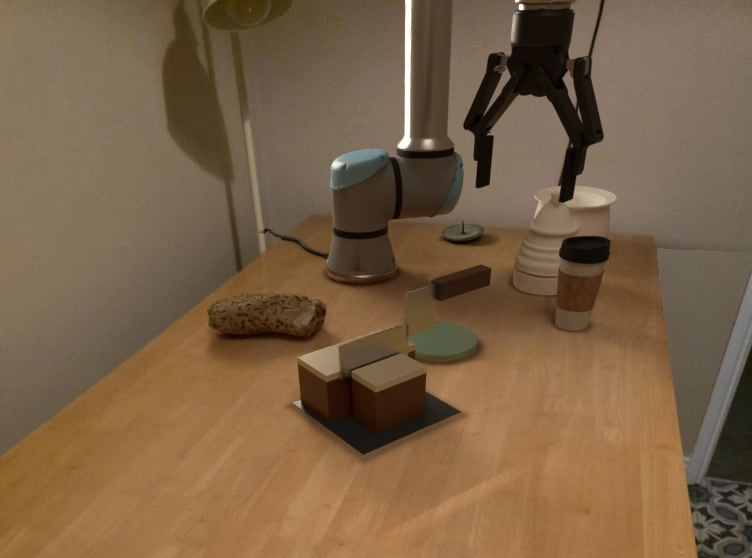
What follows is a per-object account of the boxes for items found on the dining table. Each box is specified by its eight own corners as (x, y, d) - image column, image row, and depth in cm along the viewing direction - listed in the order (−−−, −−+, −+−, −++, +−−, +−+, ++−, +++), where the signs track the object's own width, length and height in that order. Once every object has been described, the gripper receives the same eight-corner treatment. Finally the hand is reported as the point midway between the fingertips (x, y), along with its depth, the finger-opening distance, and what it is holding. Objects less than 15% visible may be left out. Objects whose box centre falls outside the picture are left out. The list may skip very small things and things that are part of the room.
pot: (538, 235, 164) (545, 181, 156) (611, 242, 159) (622, 187, 151) (518, 263, 148) (525, 204, 141) (597, 272, 143) (609, 212, 135)
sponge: (328, 328, 126) (233, 295, 128) (331, 292, 120) (231, 259, 122) (300, 369, 118) (199, 334, 121) (301, 333, 112) (195, 297, 114)
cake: (329, 423, 96) (326, 376, 91) (300, 403, 100) (296, 357, 96) (414, 389, 103) (415, 344, 98) (384, 371, 108) (384, 327, 103)
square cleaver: (345, 382, 91) (342, 314, 85) (336, 376, 93) (332, 309, 87) (485, 330, 104) (491, 268, 98) (475, 326, 105) (481, 264, 99)
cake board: (292, 406, 101) (291, 402, 100) (385, 371, 109) (385, 368, 109) (363, 458, 90) (363, 454, 89) (461, 415, 98) (461, 411, 97)
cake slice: (353, 418, 97) (351, 371, 92) (400, 399, 101) (401, 352, 96) (376, 434, 93) (375, 386, 88) (424, 413, 97) (426, 366, 93)
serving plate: (380, 343, 118) (380, 335, 117) (439, 322, 124) (439, 314, 123) (433, 371, 109) (433, 363, 108) (493, 347, 115) (494, 339, 114)
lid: (489, 244, 163) (494, 222, 161) (468, 243, 156) (472, 220, 154) (454, 238, 169) (457, 217, 167) (432, 237, 162) (435, 215, 160)
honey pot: (577, 296, 133) (595, 200, 121) (512, 293, 135) (523, 198, 123) (573, 274, 142) (589, 182, 131) (512, 271, 144) (523, 181, 133)
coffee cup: (596, 335, 118) (614, 248, 109) (547, 332, 120) (561, 246, 110) (593, 316, 125) (610, 233, 115) (547, 314, 126) (560, 231, 117)
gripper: (444, 8, 86) (436, 185, 100) (628, 9, 73) (591, 213, 87) (476, 5, 91) (465, 176, 104) (655, 6, 78) (616, 201, 91)
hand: (522, 193), depth 95 cm, fingers open, 13 cm apart
